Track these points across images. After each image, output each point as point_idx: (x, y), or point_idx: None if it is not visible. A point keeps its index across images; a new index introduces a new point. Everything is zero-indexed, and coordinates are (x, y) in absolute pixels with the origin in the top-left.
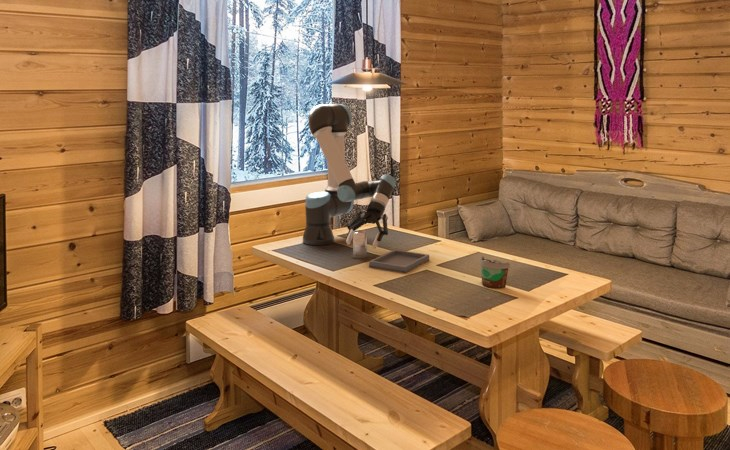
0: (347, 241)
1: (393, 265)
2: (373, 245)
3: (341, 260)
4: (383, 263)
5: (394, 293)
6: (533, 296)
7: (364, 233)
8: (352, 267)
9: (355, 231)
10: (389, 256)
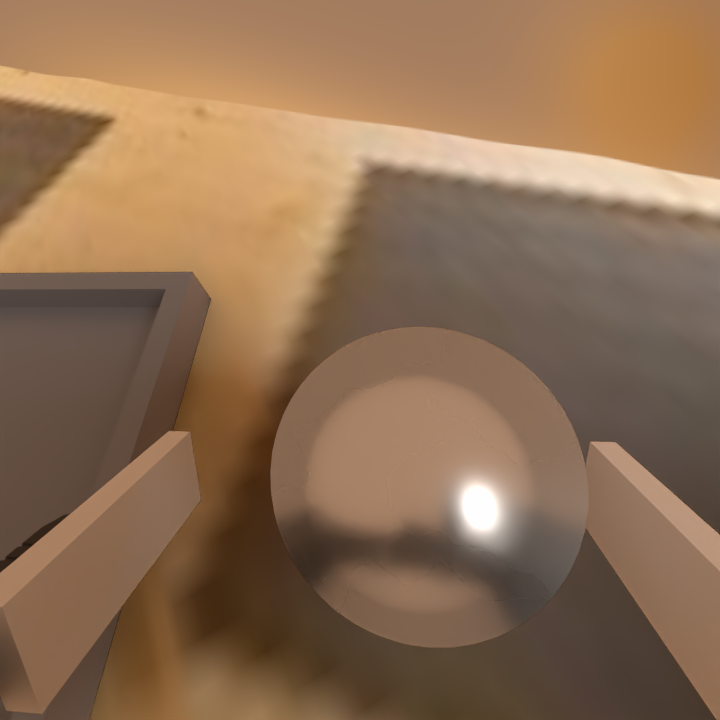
0: (591, 453)
1: (5, 273)
2: (176, 436)
3: None
4: (78, 273)
5: (18, 99)
6: None
7: (284, 418)
8: (305, 249)
9: (536, 456)
10: None
